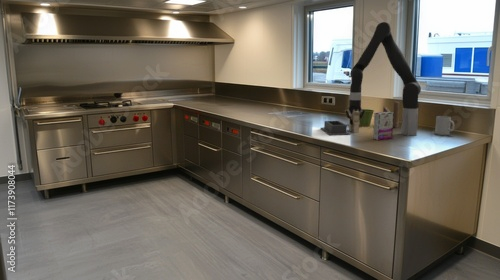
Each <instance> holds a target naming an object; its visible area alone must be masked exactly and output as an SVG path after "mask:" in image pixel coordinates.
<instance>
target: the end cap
mask: <svg viewBox="0 0 500 280" xmlns="http://www.w3.org/2000/svg"><path fill="white" fill-rule="evenodd" d="M320 130H321V131H323V132H324V133H325V134H327V135H328V136H351V134H352V132H349V131H347V130H348V129H347V124H345V123H344V122H342V121H340V120H325V121H324V126H323V127H320Z"/></svg>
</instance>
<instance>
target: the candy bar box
mask: <svg viewBox="0 0 500 280" xmlns="http://www.w3.org/2000/svg"><path fill="white" fill-rule="evenodd" d="M373 114H374V116H373V117H374V119H373V137H372V139H373V140H375V139H376V140H375V141H384V139H385V140H391V139H393V131H394V130H393V129H394V127H393V114H394V112H392V111H390V112H383V111H380V112H373Z"/></svg>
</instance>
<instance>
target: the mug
mask: <svg viewBox="0 0 500 280" xmlns="http://www.w3.org/2000/svg"><path fill="white" fill-rule="evenodd" d="M451 125H452V126H451ZM455 126H456V125H455V122H454V121H453V120H452V117H451V116H447V115H438V116H437V115H436V119H435V128H434V129H435V130H434V134H435V135H438V136H448V135H450V134H451V132H453V131H454V130H455Z"/></svg>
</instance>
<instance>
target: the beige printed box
mask: <svg viewBox="0 0 500 280" xmlns="http://www.w3.org/2000/svg"><path fill="white" fill-rule="evenodd" d="M359 113H360V112H359V111H354V112H353V124H352V125H351V124H350V121H349V124H348V125H349V129H348V130H349V131H351V133H354V134H359V132H360V131H359V130H360V129H359V127H360V123H359Z"/></svg>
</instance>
